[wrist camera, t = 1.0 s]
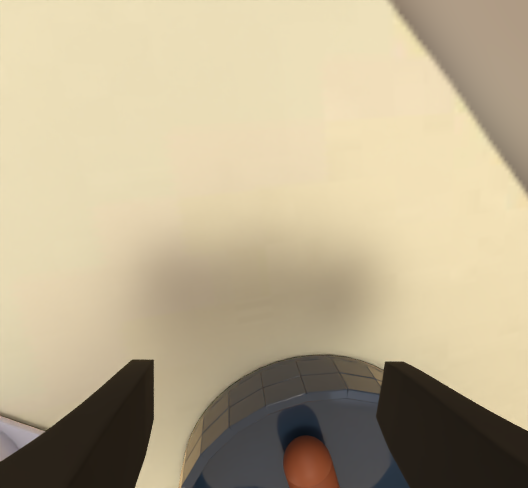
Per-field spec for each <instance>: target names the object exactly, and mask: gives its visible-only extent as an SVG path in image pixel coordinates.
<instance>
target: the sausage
mask: <svg viewBox="0 0 528 488" xmlns="http://www.w3.org/2000/svg"><path fill="white" fill-rule="evenodd" d="M283 468H284V472H285V475H286V478H287V481H288V484H289V487H290V488H340V487H339V483H338V480H337V476H336V473H335V469H334V466H333V462H332V459H331V456H330V453H329V451H328V449H327V448H326V446H325V445H324V444H323V443H322V442H321V441H320V440H319V439H317V438H315V437H313V436H308V435H303V436H299V437H297V438H295V439H294V440H292V441H291V442H290V444H289V445H288V446H287V448H286V450H285V453H284V458H283Z"/></svg>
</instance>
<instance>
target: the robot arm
mask: <svg viewBox="0 0 528 488" xmlns="http://www.w3.org/2000/svg"><path fill="white" fill-rule="evenodd" d="M376 418H377V421H378V424H379V426H380V429H381V431H382V434H383V436H384V439H385V441H386V444H387V446H388V448H389V450H390V452H391V454H392V456H393V458H394V460H395V462H396V463H397V465H398V467H399V469H400V471H401V472H402V474H403V476H404V478H405V480H406V482H407V483H408V485H409V487H410V488H528V431H527V430H525V429H523V428H521V427H519V426H517V425H515V424H513V423H511V422H509V421H507V420H505V419H504V418H502V417H500V416H498V415H496V414H494V413H493V412H491V411H489V410H487V409H485V408H484V407H482V406H480V405H478V404H476V403H475V402H473V401H471V400H470V399H468V398H466V397H464V396H463V395H461V394H459V393H458V392H456V391H454V390H453V389H451V388H449V387H448V386H446V385H444V384H442V383H441V382H439V381H437V380H436V379H434V378H432V377H431V376H429V375H427V374H426V373H424V372H422V371H420V370H419V369H417V368H415V367H413V366H411V365H409V364H407V363H405V362H385V366H384V372H383V378H382V384H381V390H380V395H379V401H378V407H377V413H376ZM153 420H154V360H131V361H130V362H129V363H128V364H127V365H125V366H124V367H123V368H122V369H121V370H120V371H119V372H117V373H116V374H115V375H114V376H113V377H112V378H111V379H110V380H108V381H107V382H106V383H105V384H104V385H103V386H102V387H101V388H99V389H98V390H97V391H96V392H95V393H94V394H92V395H91V396H90V397H89V398H88V399H86V400H85V401H84V402H83V403H82V404H80V405H79V406H78V407H77V408H75V409H74V410H73V411H71V412H70V413H69V414H68V415H66V416H65V417H64V418H62V419H61V420H60V421H59V422H57V423H56V424H55V425H53V426H52V427H51V428H49V429H48V430H47V431H43V430H40V429H37V428H34V427H31V426H28V425H25V424H23V423H20V422H17V421H14V420H11V419H8V418H5V417H2V416H0V488H135V485H136V482H137V479H138V476H139V473H140V470H141V467H142V464H143V461H144V458H145V455H146V451H147V447H148V443H149V438H150V434H151V429H152V425H153Z"/></svg>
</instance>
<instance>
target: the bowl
mask: <svg viewBox="0 0 528 488" xmlns="http://www.w3.org/2000/svg"><path fill="white" fill-rule="evenodd" d="M383 372H384V371H383V370H382V369H380V368H378V367H376V366H374V365H371V364H369V363H366V362H364V361H361V360H356V359H352V358H348V357H342V356H333V355H310V356H302V357H294V358H290V359H286V360H282V361H278V362H275V363H273V364H270V365H267V366H265V367H262V368H260V369H258V370H256V371H254V372H252V373H250V374H248V375H246V376H244V377H243V378H241V379H240V380H238V381H237V382H235V383H234V384H232V385H231V386H230V387H228V388H227V389H226V390H225V391H224V392H223V393H222V394H220V395H219V396H218V397H217V398H216V399H215V400H214V401H213V403H212V404H211V405H210V406H209V407H208V408H207V409H206V410H205V412H204V413H203V415H202V416H201V418H200V419H199V421H198V422H197V424H196V426H195V428H194V430H193V432H192V434H191V436H190V438H189V441H188V445H187V448H186V451H185V456H184V461H183V466H182V470H181V475H180V481H179V488H290V487H289V484H288V481H287V478H286V475H285V472H284V468H283V458H284V453H285V450H286V448H287V446H288V445H289V444H290V442H291V441H292V440H294V439H295V438H297V437H299V436H303V435H308V436H313V437H315V438H317V439H319V440H320V441H321V442H322V443H323V444H324V445H325V446H326V448H327V449H328V451H329V453H330V456H331V459H332V462H333V466H334V469H335V473H336V476H337V480H338V483H339V487H340V488H410V487H409V485H408V483H407V482H406V480H405V478H404V476H403V474H402V472H401V471H400V469H399V467H398V465H397V463H396V462H395V460H394V458H393V456H392V454H391V452H390V450H389V448H388V446H387V444H386V441H385V439H384V436H383V434H382V431H381V429H380V426H379V424H378V421H377V418H376V413H377V407H378V401H379V395H380V390H381V384H382V378H383Z"/></svg>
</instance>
